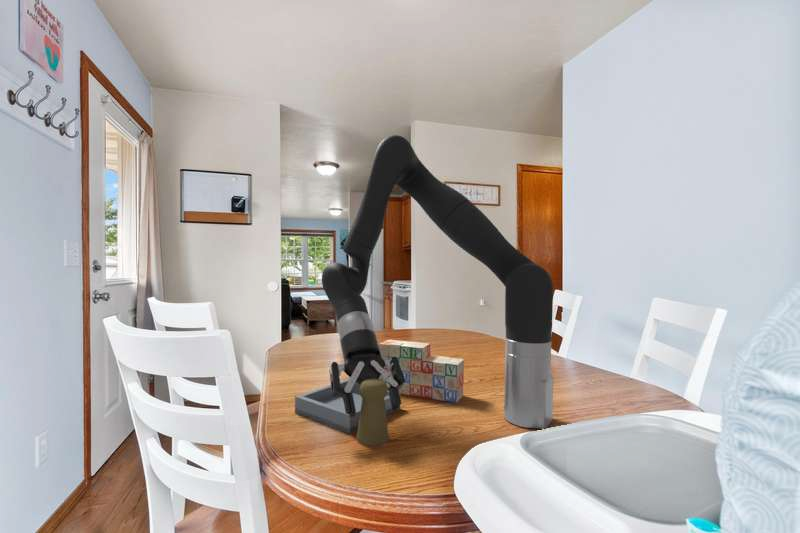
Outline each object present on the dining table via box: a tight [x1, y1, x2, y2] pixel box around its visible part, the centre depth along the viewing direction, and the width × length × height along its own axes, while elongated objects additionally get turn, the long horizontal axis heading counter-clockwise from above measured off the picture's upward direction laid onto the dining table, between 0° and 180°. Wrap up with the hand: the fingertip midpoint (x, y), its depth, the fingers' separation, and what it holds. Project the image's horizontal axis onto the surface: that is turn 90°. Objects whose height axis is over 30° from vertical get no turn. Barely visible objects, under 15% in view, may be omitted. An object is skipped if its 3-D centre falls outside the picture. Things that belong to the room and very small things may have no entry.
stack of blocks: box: [378, 339, 465, 404], centre depth 98 cm, size 21×6×12 cm, turn 65°
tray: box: [294, 378, 401, 435], centre depth 85 cm, size 16×16×4 cm
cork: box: [356, 379, 390, 447], centre depth 72 cm, size 6×6×11 cm
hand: (375, 412), depth 71 cm, fingers open, 8 cm apart
